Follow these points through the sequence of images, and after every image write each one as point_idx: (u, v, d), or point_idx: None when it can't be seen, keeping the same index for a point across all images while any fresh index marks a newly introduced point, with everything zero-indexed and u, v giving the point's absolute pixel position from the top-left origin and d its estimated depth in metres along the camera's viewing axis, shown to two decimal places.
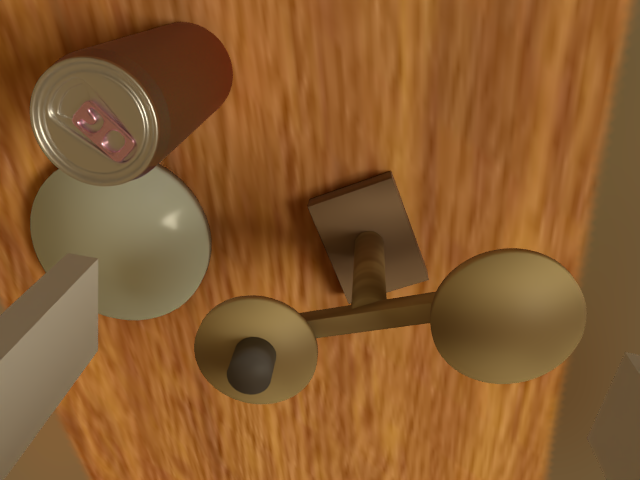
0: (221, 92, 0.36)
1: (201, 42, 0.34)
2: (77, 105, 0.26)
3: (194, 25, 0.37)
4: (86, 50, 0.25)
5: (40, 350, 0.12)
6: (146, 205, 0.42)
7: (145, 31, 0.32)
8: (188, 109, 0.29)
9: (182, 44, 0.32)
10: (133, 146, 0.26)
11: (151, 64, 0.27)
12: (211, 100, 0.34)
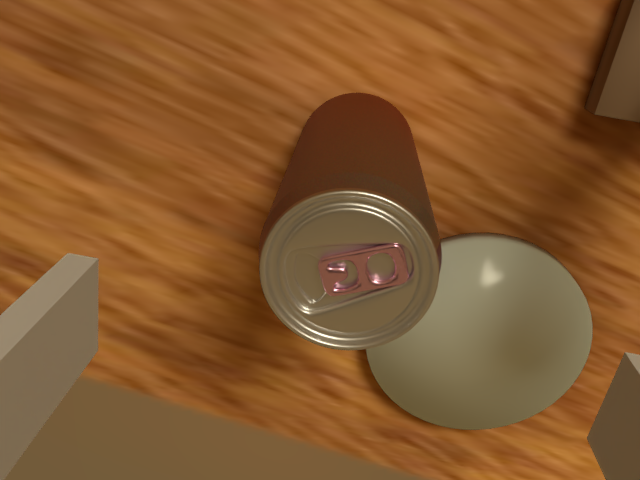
0: (401, 124, 0.28)
1: (338, 109, 0.27)
2: (316, 276, 0.19)
3: (317, 109, 0.30)
4: (267, 223, 0.19)
5: (40, 350, 0.12)
6: (459, 287, 0.34)
7: None
8: (399, 162, 0.21)
9: (327, 126, 0.25)
10: (402, 250, 0.18)
11: (325, 165, 0.20)
12: (404, 137, 0.26)
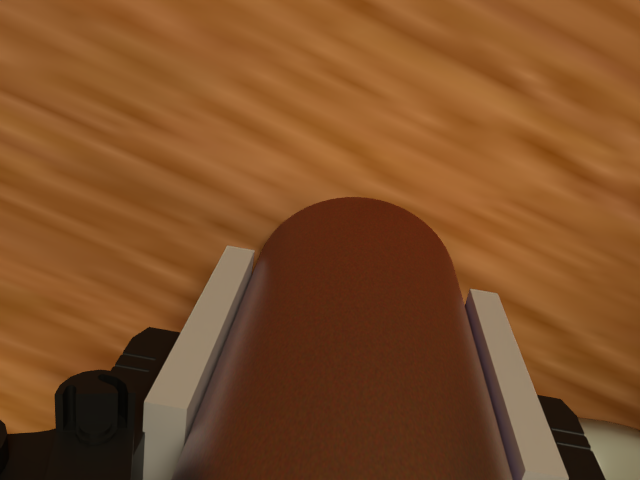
0: (442, 277, 0.14)
1: (315, 253, 0.14)
2: None
3: (282, 228, 0.17)
4: None
5: (229, 329, 0.14)
6: None
7: None
8: None
9: (284, 326, 0.11)
10: None
11: None
12: (454, 336, 0.12)
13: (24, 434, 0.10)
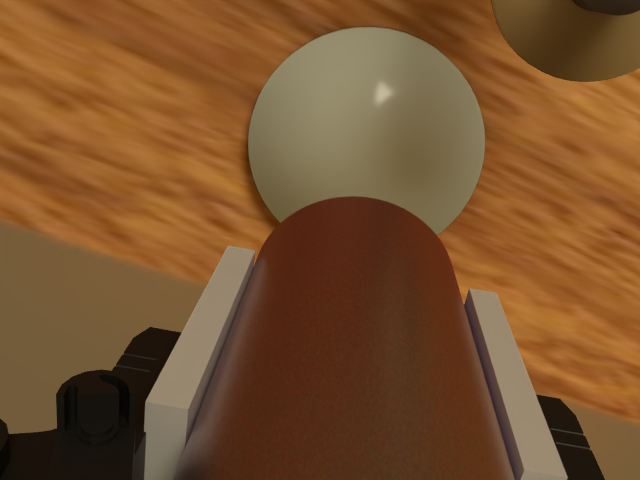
0: (441, 276, 0.14)
1: (315, 252, 0.14)
2: None
3: (281, 227, 0.17)
4: None
5: None
6: (341, 85, 0.32)
7: (215, 369, 0.12)
8: None
9: (285, 326, 0.11)
10: None
11: None
12: (455, 334, 0.12)
13: (25, 434, 0.10)
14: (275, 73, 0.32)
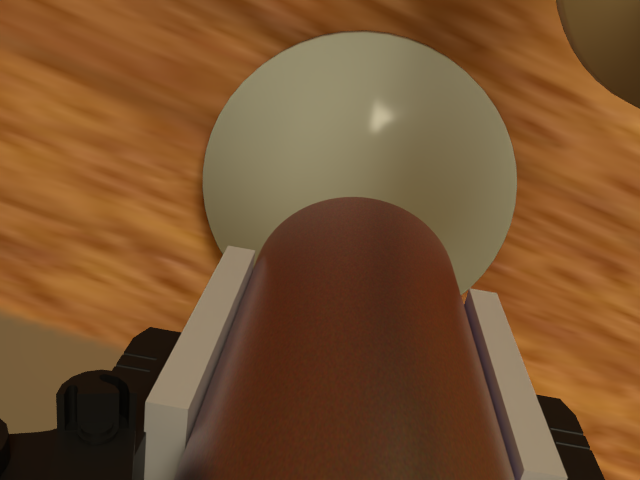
0: (441, 276, 0.14)
1: (315, 252, 0.14)
2: None
3: (281, 227, 0.17)
4: None
5: None
6: (325, 110, 0.24)
7: (215, 370, 0.12)
8: None
9: (286, 326, 0.11)
10: None
11: None
12: (455, 335, 0.12)
13: (25, 434, 0.10)
14: (235, 94, 0.24)
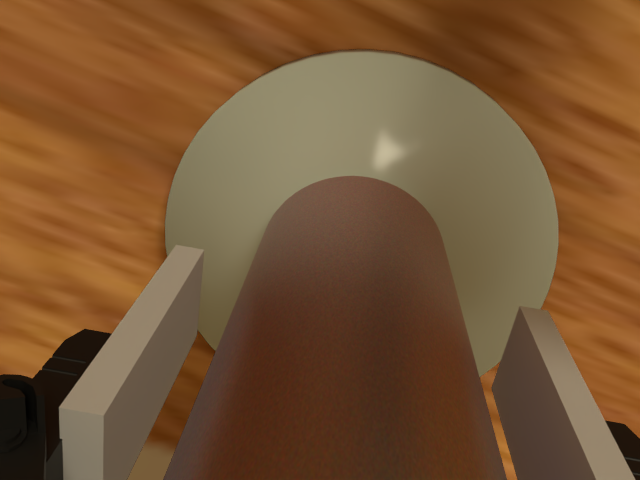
0: (429, 244, 0.16)
1: (316, 221, 0.15)
2: None
3: (286, 204, 0.18)
4: None
5: (169, 331, 0.14)
6: (316, 149, 0.19)
7: None
8: (444, 425, 0.09)
9: (289, 279, 0.13)
10: None
11: None
12: (439, 289, 0.13)
13: None
14: (203, 129, 0.19)
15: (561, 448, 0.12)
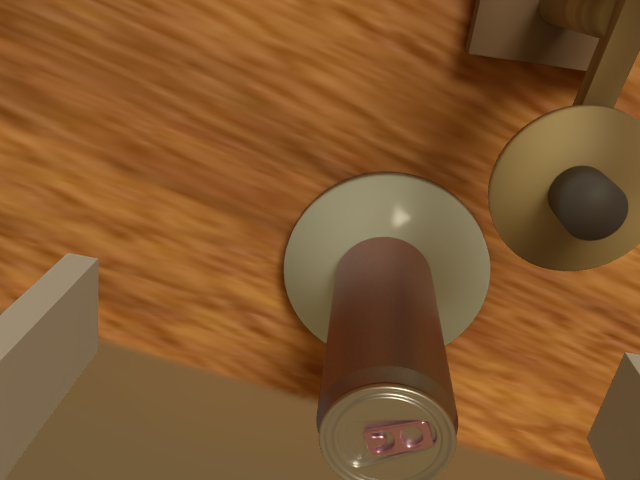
0: (421, 272, 0.34)
1: (369, 263, 0.33)
2: (362, 440, 0.25)
3: (350, 251, 0.36)
4: (323, 400, 0.25)
5: (40, 350, 0.12)
6: (364, 223, 0.37)
7: (333, 309, 0.32)
8: (422, 338, 0.27)
9: (362, 290, 0.31)
10: (427, 425, 0.24)
11: (366, 353, 0.25)
12: (424, 293, 0.31)
13: None
14: (306, 214, 0.37)
15: None
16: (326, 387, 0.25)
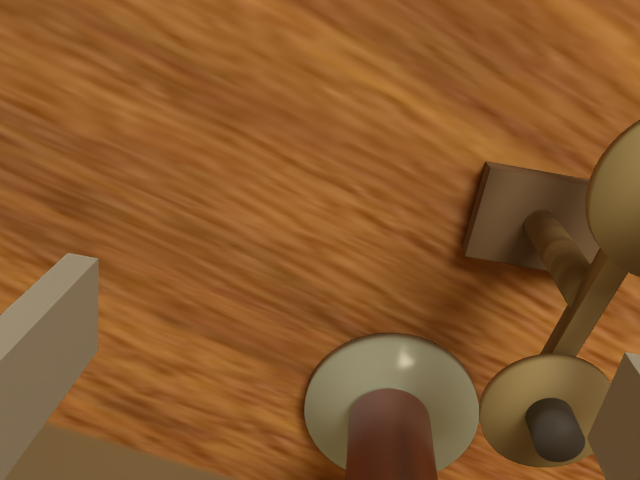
0: (422, 428, 0.41)
1: (379, 422, 0.40)
2: None
3: (362, 401, 0.43)
4: None
5: (40, 350, 0.12)
6: (374, 375, 0.44)
7: (349, 464, 0.39)
8: None
9: (374, 455, 0.38)
10: None
11: None
12: (425, 455, 0.38)
13: None
14: (326, 366, 0.44)
15: None
16: None
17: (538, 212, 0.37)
